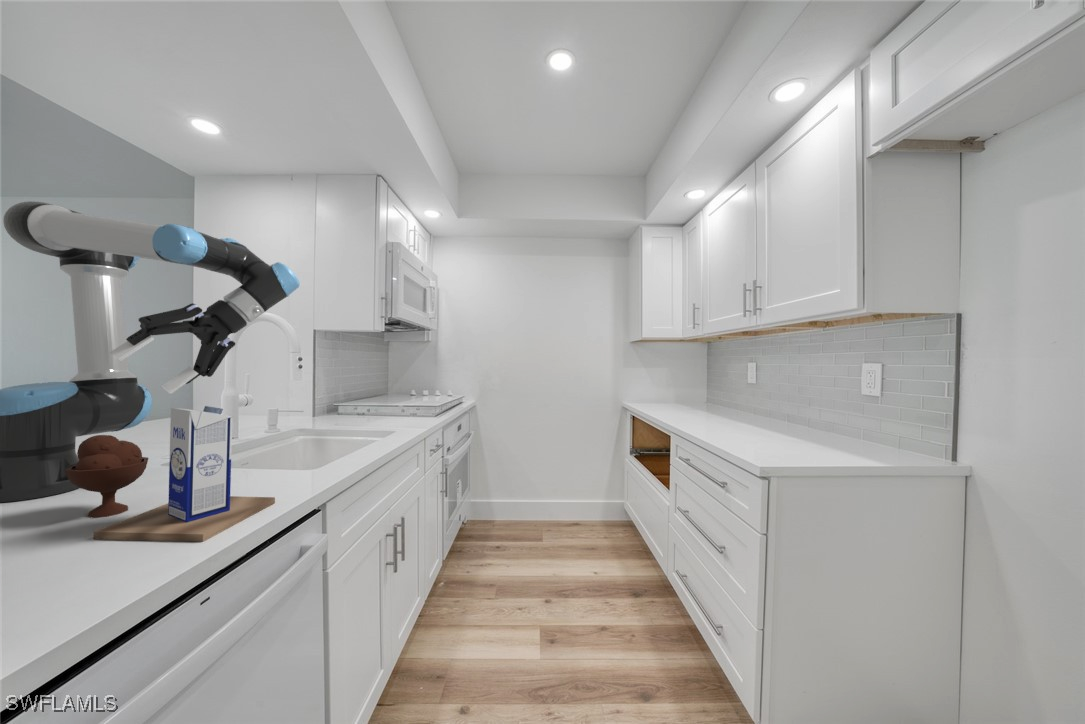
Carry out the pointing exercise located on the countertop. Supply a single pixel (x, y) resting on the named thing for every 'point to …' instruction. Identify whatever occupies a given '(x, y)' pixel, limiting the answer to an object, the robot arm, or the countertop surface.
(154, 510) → the walnut board
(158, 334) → the robot arm
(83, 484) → the ice cream bowl
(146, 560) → the countertop surface
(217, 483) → the milk carton
